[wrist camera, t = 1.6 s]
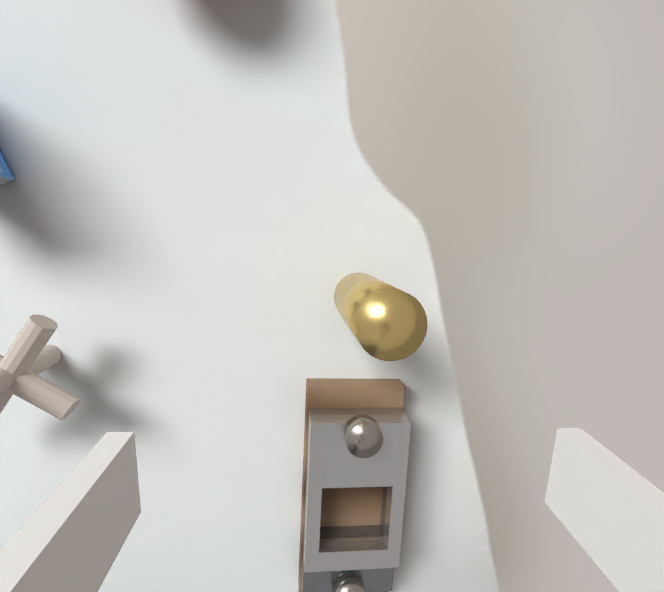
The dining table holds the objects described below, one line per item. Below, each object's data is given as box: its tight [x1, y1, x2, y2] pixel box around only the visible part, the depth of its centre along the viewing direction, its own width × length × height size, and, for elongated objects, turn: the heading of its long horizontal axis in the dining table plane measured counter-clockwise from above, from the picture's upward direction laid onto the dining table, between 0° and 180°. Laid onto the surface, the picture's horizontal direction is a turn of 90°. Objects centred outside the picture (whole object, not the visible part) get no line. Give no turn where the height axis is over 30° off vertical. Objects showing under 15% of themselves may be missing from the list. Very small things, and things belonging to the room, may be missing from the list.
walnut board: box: [299, 379, 405, 592], centre depth 37 cm, size 22×9×2 cm, turn 177°
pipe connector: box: [0, 315, 80, 420], centre depth 28 cm, size 10×10×10 cm
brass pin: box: [334, 273, 427, 361], centre depth 29 cm, size 4×4×12 cm
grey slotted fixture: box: [302, 407, 411, 592], centre depth 34 cm, size 20×9×5 cm, turn 177°
